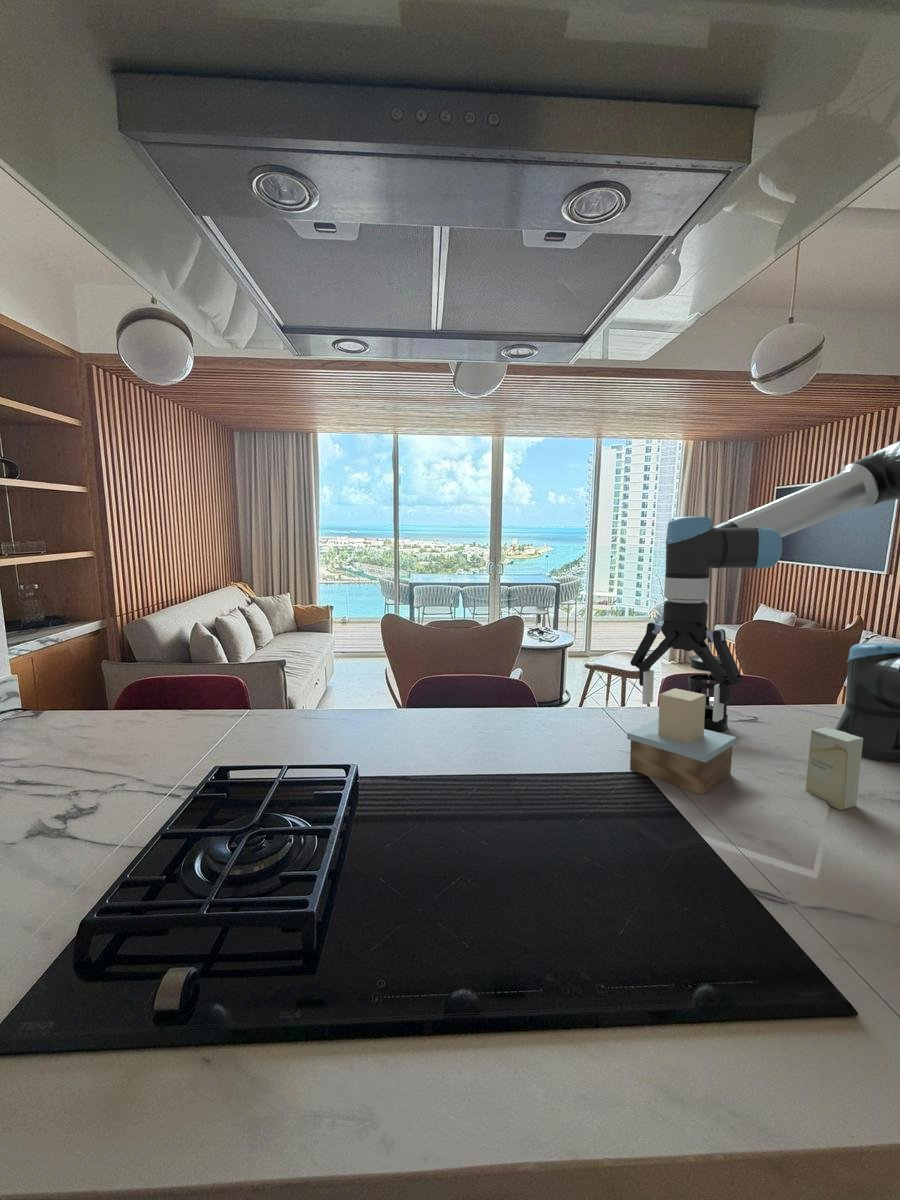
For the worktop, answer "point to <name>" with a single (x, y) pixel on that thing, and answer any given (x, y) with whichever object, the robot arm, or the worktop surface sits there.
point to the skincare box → (834, 766)
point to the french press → (708, 722)
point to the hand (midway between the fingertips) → (680, 711)
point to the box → (680, 767)
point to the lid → (682, 728)
